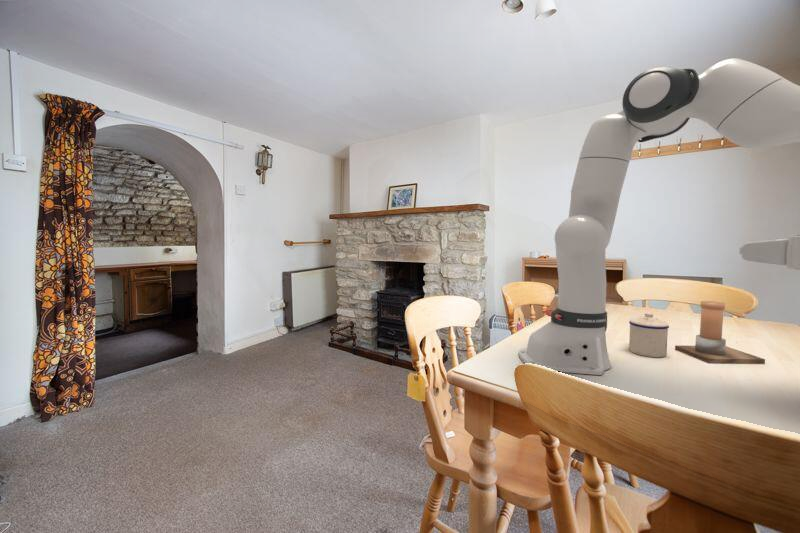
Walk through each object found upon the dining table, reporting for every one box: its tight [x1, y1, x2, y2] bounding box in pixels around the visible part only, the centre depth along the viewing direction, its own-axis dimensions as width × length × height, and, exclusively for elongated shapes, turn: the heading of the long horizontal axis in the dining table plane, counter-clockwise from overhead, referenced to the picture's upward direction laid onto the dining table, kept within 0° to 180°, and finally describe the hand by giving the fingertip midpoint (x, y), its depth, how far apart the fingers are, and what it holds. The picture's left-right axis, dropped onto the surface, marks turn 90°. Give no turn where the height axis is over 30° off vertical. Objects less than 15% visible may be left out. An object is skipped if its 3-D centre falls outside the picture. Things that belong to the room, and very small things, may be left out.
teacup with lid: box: [628, 312, 670, 358], centre depth 93 cm, size 12×9×12 cm
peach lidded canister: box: [699, 300, 726, 340], centre depth 88 cm, size 5×5×10 cm
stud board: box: [674, 334, 766, 365], centre depth 89 cm, size 14×11×5 cm
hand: (764, 250), depth 73 cm, fingers open, 8 cm apart
